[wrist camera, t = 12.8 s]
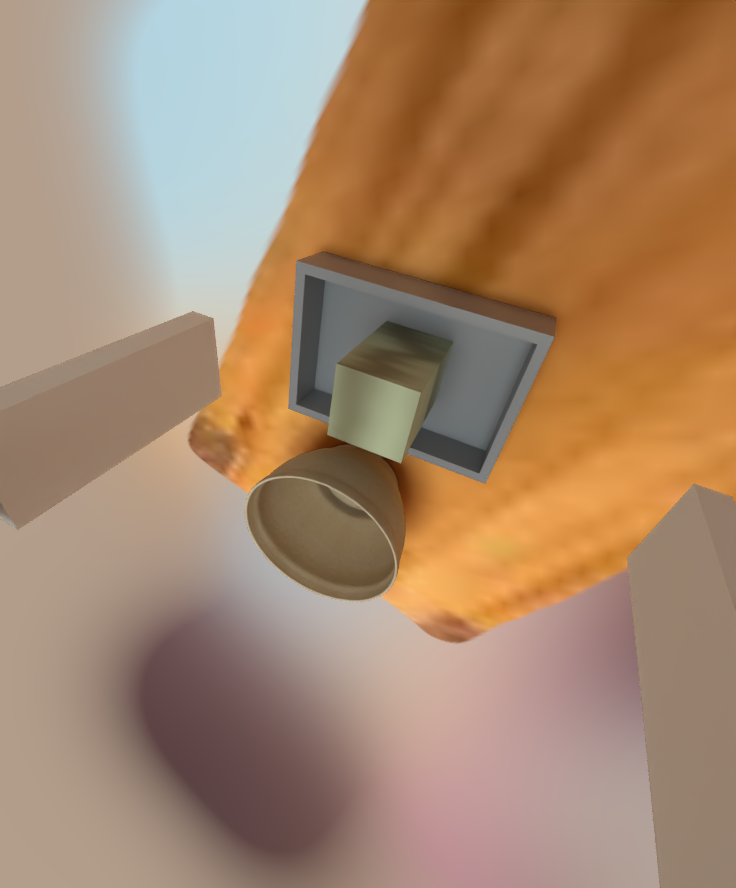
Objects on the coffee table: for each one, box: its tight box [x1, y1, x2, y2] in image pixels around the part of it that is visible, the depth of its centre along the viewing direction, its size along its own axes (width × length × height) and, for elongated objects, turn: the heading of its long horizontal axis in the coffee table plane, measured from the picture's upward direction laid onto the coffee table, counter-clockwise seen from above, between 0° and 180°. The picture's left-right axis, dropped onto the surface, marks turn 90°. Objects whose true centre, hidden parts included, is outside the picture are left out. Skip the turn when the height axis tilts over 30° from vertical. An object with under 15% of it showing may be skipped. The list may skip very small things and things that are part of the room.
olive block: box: [327, 321, 454, 463], centre depth 32 cm, size 6×6×10 cm
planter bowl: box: [245, 444, 406, 602], centre depth 43 cm, size 16×16×11 cm
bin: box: [288, 252, 556, 483], centre depth 35 cm, size 20×14×4 cm
